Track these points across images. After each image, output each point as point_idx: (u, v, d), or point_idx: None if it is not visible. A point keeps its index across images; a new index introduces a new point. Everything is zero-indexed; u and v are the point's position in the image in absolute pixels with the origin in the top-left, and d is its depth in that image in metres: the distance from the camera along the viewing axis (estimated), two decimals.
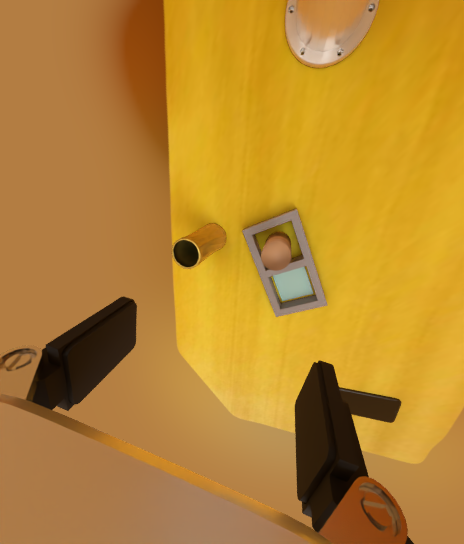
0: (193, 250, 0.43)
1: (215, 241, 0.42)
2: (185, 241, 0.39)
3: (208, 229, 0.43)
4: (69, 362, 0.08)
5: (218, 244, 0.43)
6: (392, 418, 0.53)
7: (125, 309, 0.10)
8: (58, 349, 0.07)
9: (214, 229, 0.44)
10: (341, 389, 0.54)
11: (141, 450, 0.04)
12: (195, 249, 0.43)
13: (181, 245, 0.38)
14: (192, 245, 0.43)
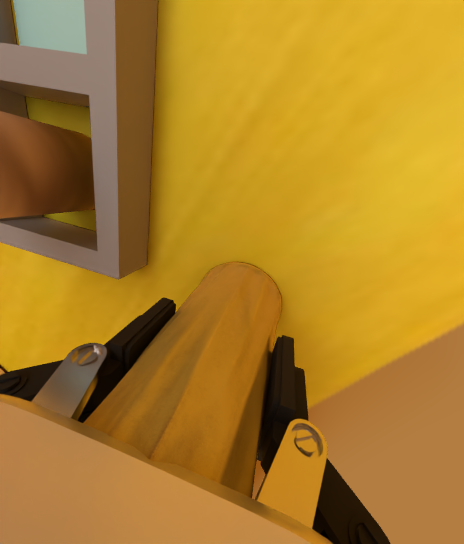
0: None
1: None
2: None
3: None
4: (129, 358, 0.08)
5: (180, 308, 0.11)
6: None
7: (168, 309, 0.11)
8: (121, 346, 0.08)
9: None
10: None
11: None
12: None
13: None
14: None
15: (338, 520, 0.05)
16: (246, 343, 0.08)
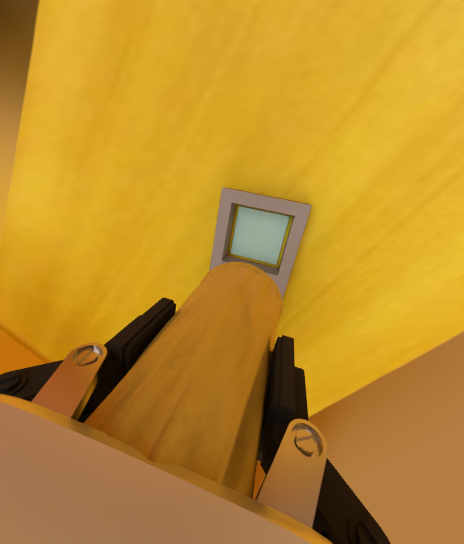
0: None
1: None
2: None
3: None
4: (129, 358, 0.08)
5: (181, 308, 0.11)
6: None
7: (168, 309, 0.11)
8: (122, 346, 0.08)
9: None
10: None
11: None
12: None
13: None
14: None
15: (338, 520, 0.05)
16: (247, 343, 0.08)
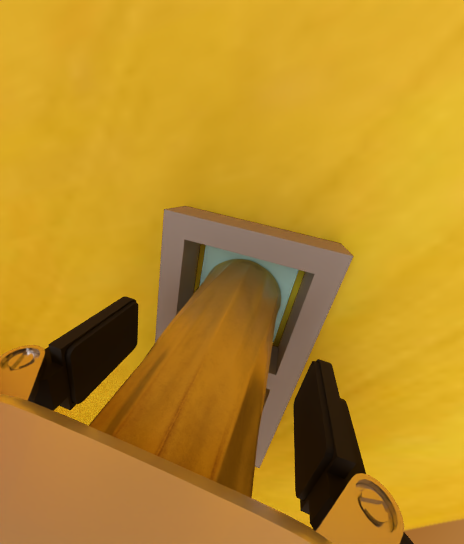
0: None
1: None
2: None
3: None
4: (72, 362, 0.08)
5: (189, 301, 0.12)
6: None
7: (127, 309, 0.10)
8: (61, 349, 0.07)
9: None
10: None
11: (141, 450, 0.04)
12: None
13: None
14: None
15: None
16: (250, 329, 0.10)
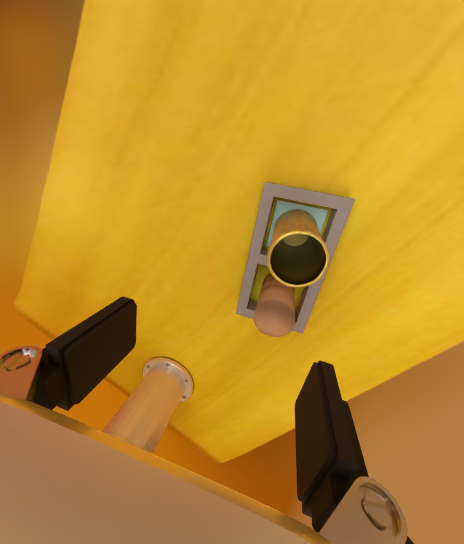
0: (316, 241, 0.24)
1: (275, 230, 0.26)
2: (304, 266, 0.23)
3: None
4: (69, 362, 0.08)
5: (279, 222, 0.27)
6: None
7: (125, 309, 0.10)
8: (58, 349, 0.07)
9: None
10: None
11: (141, 450, 0.04)
12: (315, 239, 0.25)
13: (310, 268, 0.21)
14: (313, 248, 0.25)
15: None
16: (313, 224, 0.24)
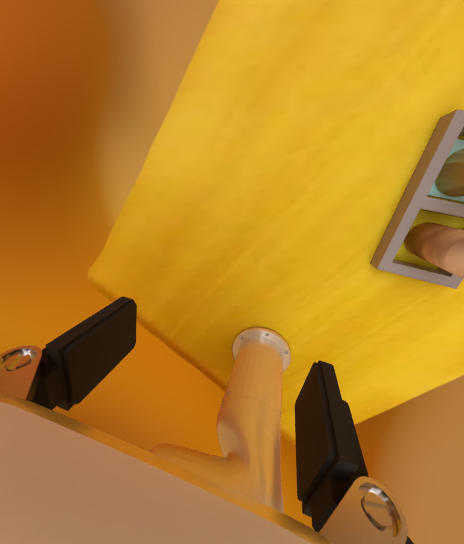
0: None
1: None
2: None
3: None
4: (69, 362, 0.08)
5: None
6: None
7: (125, 309, 0.10)
8: (58, 349, 0.07)
9: (454, 181, 0.27)
10: None
11: (141, 450, 0.04)
12: None
13: None
14: None
15: None
16: None
